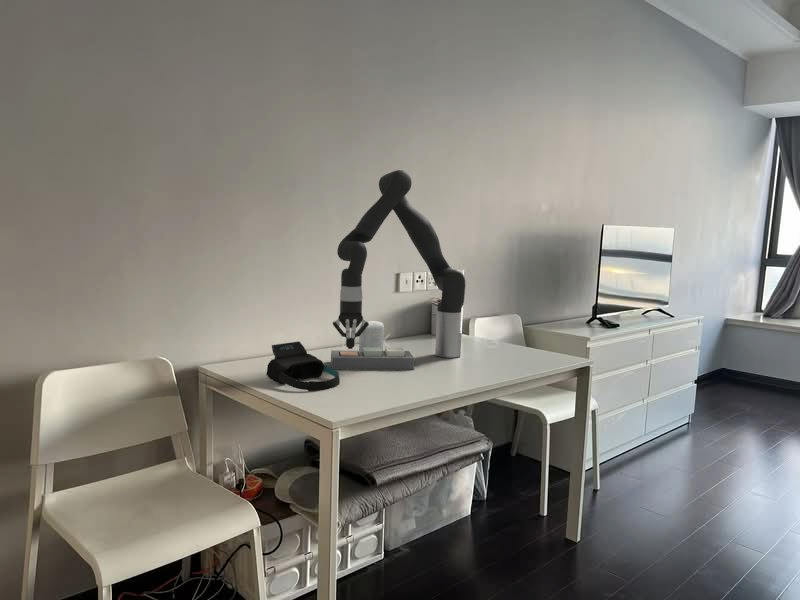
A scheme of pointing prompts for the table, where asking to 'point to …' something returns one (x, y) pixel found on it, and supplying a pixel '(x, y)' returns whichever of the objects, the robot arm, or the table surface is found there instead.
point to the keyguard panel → (371, 361)
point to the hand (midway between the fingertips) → (350, 348)
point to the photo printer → (372, 336)
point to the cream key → (394, 352)
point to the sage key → (372, 351)
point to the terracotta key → (349, 354)
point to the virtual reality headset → (299, 368)
